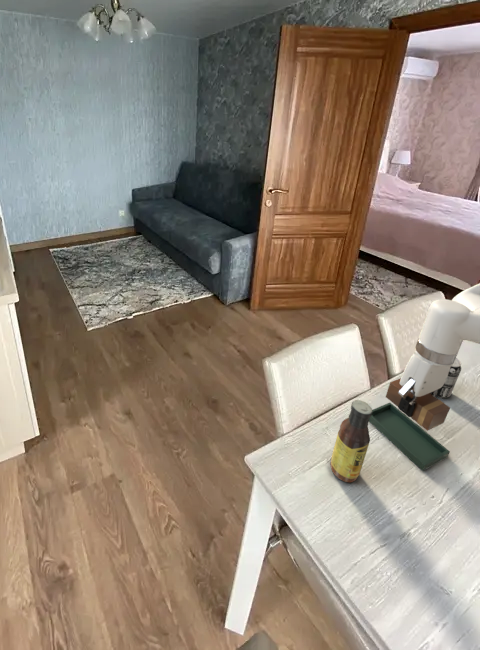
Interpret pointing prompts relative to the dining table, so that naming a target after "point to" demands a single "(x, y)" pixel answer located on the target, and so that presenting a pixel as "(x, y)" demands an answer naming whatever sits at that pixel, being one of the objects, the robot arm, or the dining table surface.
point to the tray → (408, 436)
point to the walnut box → (421, 407)
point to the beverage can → (450, 380)
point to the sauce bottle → (352, 443)
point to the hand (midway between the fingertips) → (414, 407)
